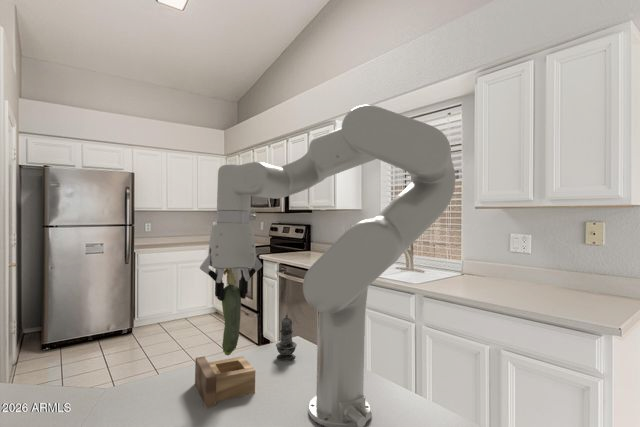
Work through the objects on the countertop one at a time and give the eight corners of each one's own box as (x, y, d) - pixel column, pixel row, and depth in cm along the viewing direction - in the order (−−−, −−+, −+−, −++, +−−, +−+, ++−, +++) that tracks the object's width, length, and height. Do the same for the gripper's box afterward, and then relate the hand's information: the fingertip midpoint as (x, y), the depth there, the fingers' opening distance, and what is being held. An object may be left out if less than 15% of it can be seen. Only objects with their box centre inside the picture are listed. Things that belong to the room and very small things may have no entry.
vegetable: (242, 353, 83) (244, 267, 83) (235, 360, 79) (238, 270, 79) (223, 351, 84) (226, 266, 84) (216, 359, 79) (219, 269, 80)
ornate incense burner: (282, 352, 104) (283, 311, 104) (300, 355, 101) (301, 313, 101) (271, 359, 99) (272, 315, 99) (289, 363, 96) (290, 318, 96)
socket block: (254, 392, 79) (255, 370, 79) (214, 402, 75) (214, 378, 75) (242, 376, 87) (243, 356, 87) (205, 384, 83) (205, 362, 83)
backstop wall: (215, 405, 74) (216, 376, 74) (205, 407, 73) (206, 378, 73) (203, 381, 84) (204, 356, 84) (194, 383, 83) (195, 357, 83)
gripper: (262, 219, 89) (260, 292, 89) (192, 218, 81) (189, 298, 81) (273, 219, 83) (271, 298, 82) (198, 218, 74) (196, 305, 74)
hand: (231, 297), depth 81 cm, fingers closed on vegetable, 4 cm apart
